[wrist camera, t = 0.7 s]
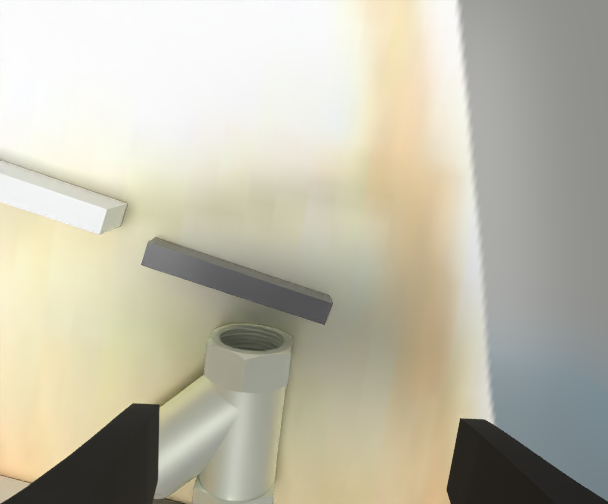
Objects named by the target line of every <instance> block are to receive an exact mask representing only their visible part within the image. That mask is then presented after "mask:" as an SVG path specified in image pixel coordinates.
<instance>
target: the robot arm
mask: <svg viewBox="0 0 608 504" xmlns="http://www.w3.org/2000/svg"><path fill="white" fill-rule="evenodd" d="M159 409H160V405H156V404H134V403H133V404H132V405H130V406H129V407H128V408H127V409H125V410H124V411H123V412H122V413H120V414H119V415H118V416H117V417H116V418H114V419H113V420H112V421H111V422H110V423H109V424H107V425H106V426H105V427H104V428H103V429H101V430H100V431H99V432H98V433H97V434H95V435H94V436H93V437H92V438H91V439H89V440H88V441H87V442H86V443H84V444H83V445H82V446H81V447H79V448H78V449H77V450H76V451H74V452H73V453H72V454H71V455H69V456H68V457H67V458H66V459H64V460H63V461H61V462H60V463H59V464H57V465H56V466H55V467H53V468H52V469H51V470H49V471H48V472H46V473H45V474H44V475H42V476H41V477H40V478H38V479H37V480H36V481H34V482H33V483H31V484H30V485H28V486H27V487H25V488H24V489H22V490H21V491H19V492H18V493H16V494H15V495H13V496H12V497H10V498H9V499H7V500H5V501H4V502H2V503H1V504H152V503H153V499H154V495H155V491H156V487H157V483H158V459H159ZM447 493H448V496H449V499H450V503H451V504H608V502H607V501H606V500H604V499H603V498H601V497H600V496H598V495H596V494H595V493H593V492H592V491H590V490H589V489H587V488H585V487H584V486H582V485H581V484H579V483H577V482H576V481H575V480H573V479H572V478H570V477H569V476H567V475H566V474H564V473H563V472H561V471H560V470H558V469H557V468H556V467H554V466H553V465H551V464H550V463H548V462H547V461H545V460H544V459H543V458H541V457H540V456H538V455H537V454H535V453H534V452H532V451H531V450H530V449H528V448H527V447H525V446H524V445H523V444H521V443H520V442H518V441H517V440H515V439H514V438H512V437H511V436H509V435H508V434H507V433H505V432H504V431H502V430H501V429H499V428H498V427H496V426H494V425H493V424H491V423H490V422H488V421H486V420H483V419H461V418H460V423H459V428H458V433H457V438H456V443H455V449H454V454H453V459H452V464H451V470H450V475H449V480H448V485H447Z"/></svg>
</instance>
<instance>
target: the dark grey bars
mask: <svg viewBox="0 0 608 504" xmlns="http://www.w3.org/2000/svg"><path fill="white" fill-rule="evenodd" d="M141 265H143V266H146V267H149V268H152V269H155V270H158V271H161V272H164V273H167V274H170V275H173V276H176V277H179V278H182V279H185V280H189V281H192V282H195V283H198V284H201V285H204V286H207V287H210V288H213V289H216V290H219V291H222V292H225V293H228V294H231V295H234V296H238V297H241V298H244V299H247V300H250V301H253V302H256V303H259V304H262V305H265V306H268V307H271V308H274V309H277V310H280V311H284V312H287V313H290V314H293V315H296V316H299V317H302V318H305V319H308V320H311V321H314V322H317V323H320V324H323V325H325V322H326V320H327V317H328V315H329V312H330V309H331V307H332V304H333V303H332V301H331V299H330V296H329V295H326V294H323V293H320V292H317V291H314V290H311V289H308V288H305V287H302V286H299V285H296V284H293V283H290V282H287V281H284V280H281V279H278V278H275V277H272V276H269V275H266V274H263V273H260V272H257V271H254V270H251V269H248V268H245V267H242V266H239V265H236V264H233V263H230V262H227V261H224V260H221V259H218V258H215V257H212V256H209V255H206V254H203V253H200V252H197V251H194V250H191V249H189V248H186V247H183V246H180V245H177V244H174V243H171V242H168V241H165V240H162V239H159V238H156V237H155V238H154V239H152V240H151V241H149V242H148V244H147V247H146V251H145V254H144V257H143V260H142V263H141ZM152 504H183V503H179V502H175V501H172V500H168V499H153V503H152Z"/></svg>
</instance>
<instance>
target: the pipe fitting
mask: <svg viewBox="0 0 608 504" xmlns="http://www.w3.org/2000/svg"><path fill="white" fill-rule="evenodd" d="M292 342H293V337H291V336H290V335H288V334H286V333H285V332H283V331H281V330H279V329H276V328H273V327H269V326H265V325H259V324H248V323H239V324H229V325H225V326H221V327H218V328H215V329H214V330H213V332H212V333H211V335H210V337H209V340H208V342H207V345H206V355H205V366H204V375H202V376H201V377H200V378H198V379H197V380H196V381H194V382H193V383H192V384H190V385H189V386H188V387H186V388H185V389H184V390H182V391H181V392H180V393H179V394H177V395H176V396H175V397H173V398H172V399H171V400H169V401H168V402H167V403H165V404H164V405H163V406H161V407H160V409H159V459H158V483H157V487H156V491H155V495H154V499H164V498H166V497H168V496H170V495H171V494H172V493H174V492H175V491H177V490H178V489H179V488H181V487H182V486H183V485H185V484H186V483H188V482H189V481H190V480H192V479H193V478H195V477H196V476H197V478H196V482H195V485H194V489H193V500H192V504H273V497H274V488H275V478H276V462H277V454H278V446H279V438H280V430H281V422H282V414H283V406H284V398H285V390H286V386H288V378H289V370H290V362H291V353H292Z"/></svg>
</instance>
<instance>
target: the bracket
mask: <svg viewBox="0 0 608 504" xmlns="http://www.w3.org/2000/svg"><path fill="white" fill-rule="evenodd" d="M0 202H2V203H5V204H8V205H11V206H14V207H17V208H20V209H23V210H26V211H29V212H32V213H35V214H38V215H41V216H44V217H47V218H50V219H53V220H56V221H59V222H62V223H66V224H69V225H72V226H75V227H78V228H81V229H84V230H87V231H90V232H93V233H96V234H99V235H100V234H103V233H105V232H107V231H110V230H112V229H114V228H117V227H119V226H121V223H122V220H123V217H124V213H125V210H126V207H127V203H124V202H122V201H119V200H116V199H113V198H110V197H107V196H104V195H101V194H98V193H95V192H92V191H89V190H86V189H84V188H81V187H78V186H75V185H72V184H69V183H66V182H63V181H60V180H57V179H54V178H51V177H48V176H46V175H43V174H40V173H37V172H34V171H31V170H28V169H25V168H22V167H19V166H16V165H13V164H10V163H8V162H5V161H2V160H0ZM30 484H31V483H27V482H23V481H20V480H16V479H12V478H8V477H4V476H0V504H1V503H2V502H4V501H5V500H7V499H9V498H10V497H12V496H13V495H15V494H16V493H18V492H19V491H21V490H22V489H24V488H25V487H27V486H28V485H30Z"/></svg>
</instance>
